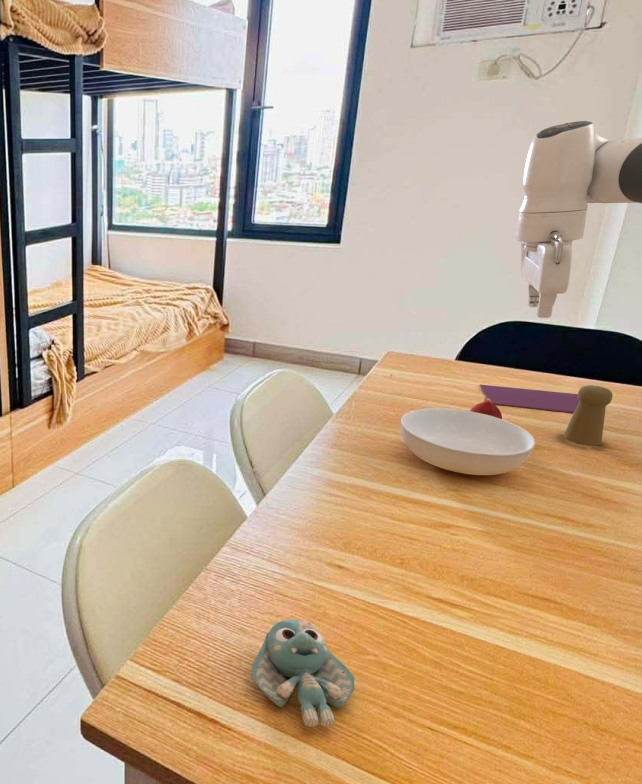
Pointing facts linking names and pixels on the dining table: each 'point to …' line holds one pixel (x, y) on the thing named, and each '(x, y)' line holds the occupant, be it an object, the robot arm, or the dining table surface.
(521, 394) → the plum cloth
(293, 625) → the stuffed animal
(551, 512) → the dining table surface
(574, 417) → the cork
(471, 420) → the serving bowl
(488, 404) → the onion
